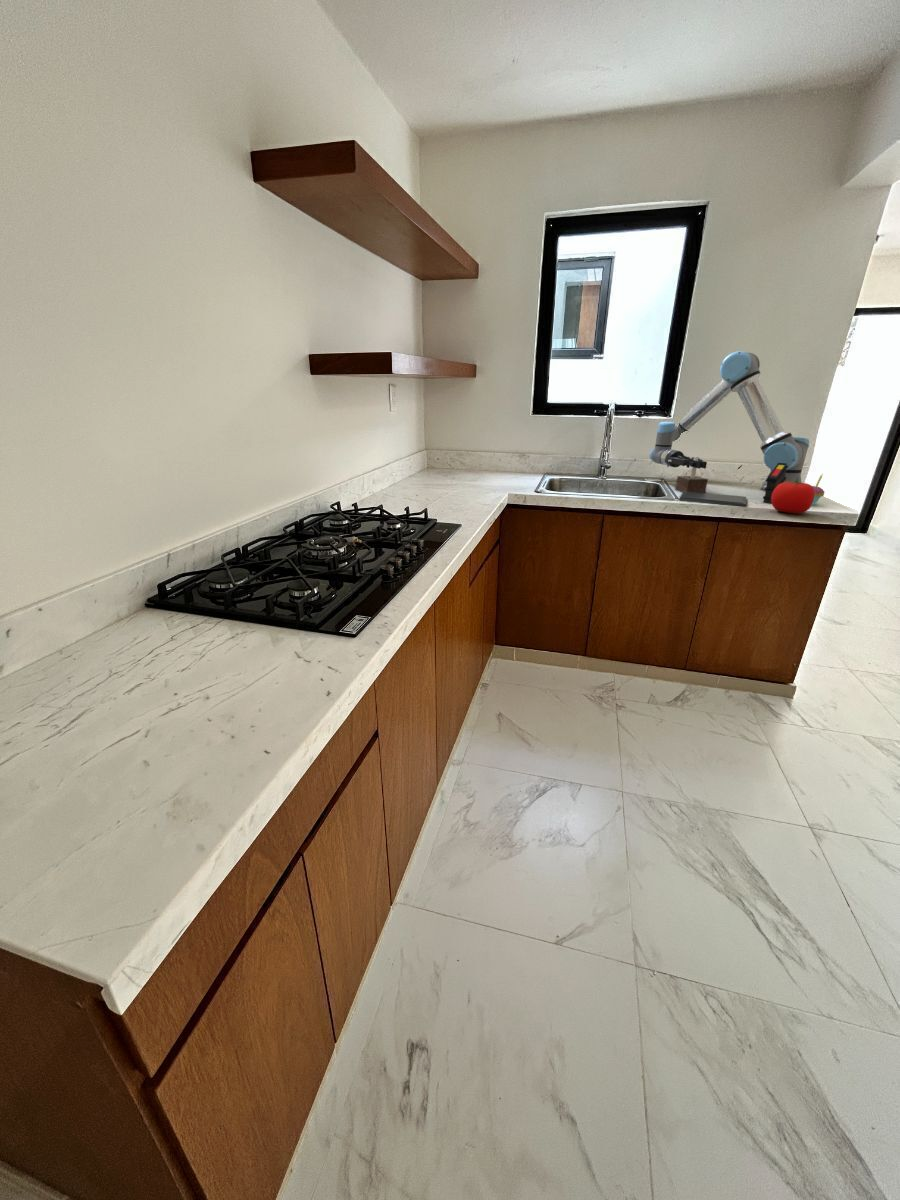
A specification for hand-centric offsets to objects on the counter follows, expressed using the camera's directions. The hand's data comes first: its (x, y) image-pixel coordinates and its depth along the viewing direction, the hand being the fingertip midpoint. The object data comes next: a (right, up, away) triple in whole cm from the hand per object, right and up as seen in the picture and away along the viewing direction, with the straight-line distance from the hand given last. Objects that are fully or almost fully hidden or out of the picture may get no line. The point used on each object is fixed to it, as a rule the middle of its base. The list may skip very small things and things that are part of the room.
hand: (702, 465), depth 214 cm
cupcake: (+35, -20, -14) cm, 42 cm away
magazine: (+22, -18, -10) cm, 30 cm away
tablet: (0, -16, -8) cm, 18 cm away
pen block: (-1, -9, +10) cm, 13 cm away
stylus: (-1, -9, +10) cm, 13 cm away
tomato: (+17, -26, -29) cm, 42 cm away
